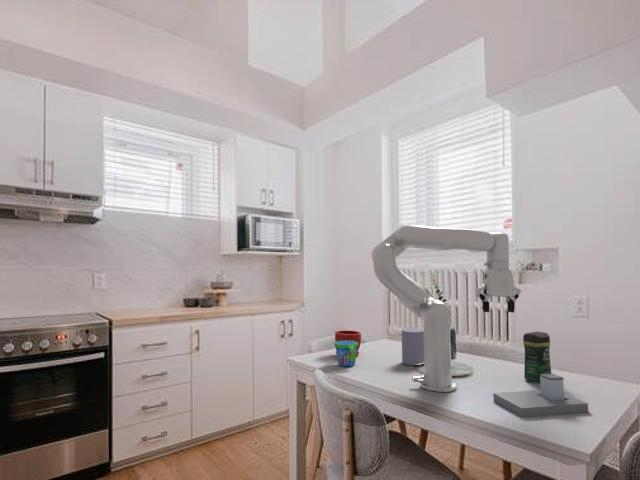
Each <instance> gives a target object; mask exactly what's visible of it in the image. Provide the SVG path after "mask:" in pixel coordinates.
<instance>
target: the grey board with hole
mask: <svg viewBox="0 0 640 480" xmlns="http://www.w3.org/2000/svg"><path fill="white" fill-rule="evenodd" d="M492 395H493V396H492V397H493V402H494V403H496V404H498V405H500V406H503V408H505V409H507V410H509V411H511V412H513V413H515V414H516V415H518V416H519V417H521V418H526V417H527V418H528V417H541V416H553V415H565V414H567V415H569V414H577V413H578V414H579V413H589V403H588V402H586V401H583V400H581V399H578V398H576V397H574V396H571V395H569V394H566V393H564V400H560V401H550V400H548V399H545V398H543V397H541V389H536V390H534V389H533V390H518V391H506V392H493V393H492Z"/></svg>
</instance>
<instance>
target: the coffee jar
mask: <svg viewBox="0 0 640 480" xmlns="http://www.w3.org/2000/svg"><path fill="white" fill-rule="evenodd" d="M550 337H551V336H550V335H549V334H548V333H547V332H544V331H533V332H526V333H525V334H523V337H522V340H523V341H522V342H523V348H524V372H523V373H524V379H525V380H527V381H528V382H530V383H533V384H535V383H537V384H540V374H552V366H551V356H550V349H551V348H550V347H551V339H550Z"/></svg>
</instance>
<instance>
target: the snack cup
mask: <svg viewBox="0 0 640 480" xmlns="http://www.w3.org/2000/svg"><path fill="white" fill-rule="evenodd" d="M357 346H358V343H357V342H355V341H353V340H352V341H347V340H346V341H338V342H334V347H335V350H336V351H335V353H336V352H337V354H336V358H337V364H338V366H340V367H354V366H355V365H356V360H357V356H356V351H357Z"/></svg>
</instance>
